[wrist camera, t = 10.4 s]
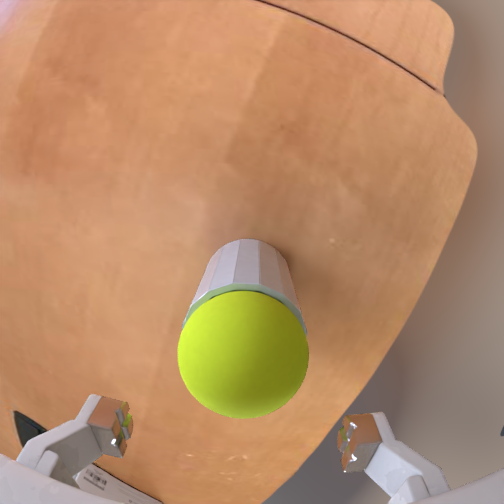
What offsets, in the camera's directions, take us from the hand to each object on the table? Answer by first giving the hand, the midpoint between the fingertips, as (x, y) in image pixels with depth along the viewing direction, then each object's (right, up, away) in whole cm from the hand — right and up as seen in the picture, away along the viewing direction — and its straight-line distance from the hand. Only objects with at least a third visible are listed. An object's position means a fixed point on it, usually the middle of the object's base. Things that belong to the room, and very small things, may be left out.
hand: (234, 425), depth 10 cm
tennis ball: (0, +1, +5) cm, 5 cm away
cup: (0, +4, +15) cm, 16 cm away
